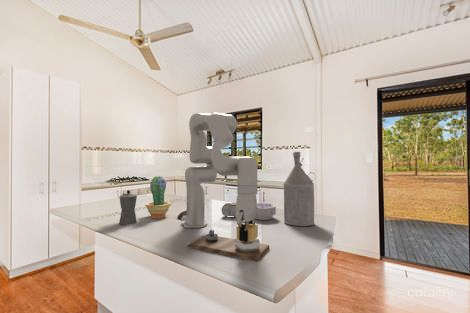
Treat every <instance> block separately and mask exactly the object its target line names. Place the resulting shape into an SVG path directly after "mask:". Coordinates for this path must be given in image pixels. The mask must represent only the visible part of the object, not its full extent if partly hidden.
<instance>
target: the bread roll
mask: <svg viewBox="0 0 470 313" xmlns="http://www.w3.org/2000/svg"><path fill="white" fill-rule="evenodd" d="M183 216H187V209H186V210H183V211H181V212H180V213H179V214H178V215H177V217H176V218H177V219H178V220H180V221H182V220H181V218H182V217H183Z"/></svg>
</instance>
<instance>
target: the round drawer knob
mask: <svg viewBox="0 0 470 313" xmlns="http://www.w3.org/2000/svg"><path fill="white" fill-rule="evenodd" d="M205 235H206V241H207V242H216V241H218V234H217V233H215V230H214V229H210V230H209V231H208V233H207V234H205Z"/></svg>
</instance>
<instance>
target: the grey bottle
mask: <svg viewBox="0 0 470 313" xmlns="http://www.w3.org/2000/svg"><path fill="white" fill-rule="evenodd" d="M292 156H293V164H294V166H293V168H292V170H290V173H289V175H288V176H287V178H286V179H285V181H284V182H283V217H284V218H283V220H284V221H283V222H284V224H286V225H290V226H295V227H296V226H297V227H310V226H313V225H315V189H314V187H315V186H314V185H315V184H314V180H317V179H316V177H317V175H316V174H315V172H309V173H306V172H305V171H304V169H303V167H302V166H303V164H302V162H303V160H304V157H302V159H301V152H300V151H293V152H292ZM310 174H313V175H314V176H315V177H314V179H313V180H312V179H311V177H310V176H309V175H310Z"/></svg>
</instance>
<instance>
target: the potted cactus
mask: <svg viewBox="0 0 470 313" xmlns="http://www.w3.org/2000/svg"><path fill="white" fill-rule="evenodd" d="M167 183H168V182H167V180H166V179H164V177H163V176H161V175H159V176H158V175H156V176H154V177H153V178H152V179H151V181H150V184H149V185H150V187H149V188H150V191H151V192H150V193H151V195H152V202H151V201H150V202H147V203H145V205H144V206H145V208H146V209H147V212H148V213H149V214H150V218H152V219H161V218H165V217H166V216H167V215H166V214H167V212H168V211H169V208H170V206H171V205H172V203H171V201H165V192H166V189H167Z"/></svg>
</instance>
